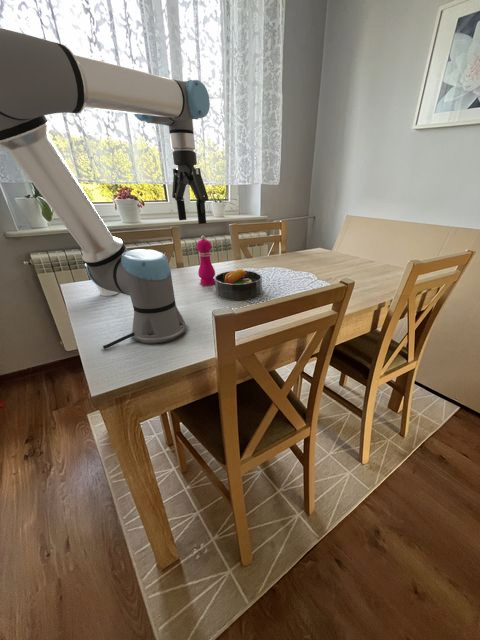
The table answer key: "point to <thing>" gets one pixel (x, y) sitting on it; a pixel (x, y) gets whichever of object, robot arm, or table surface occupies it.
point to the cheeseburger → (236, 277)
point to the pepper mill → (205, 262)
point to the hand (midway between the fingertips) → (192, 221)
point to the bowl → (239, 287)
